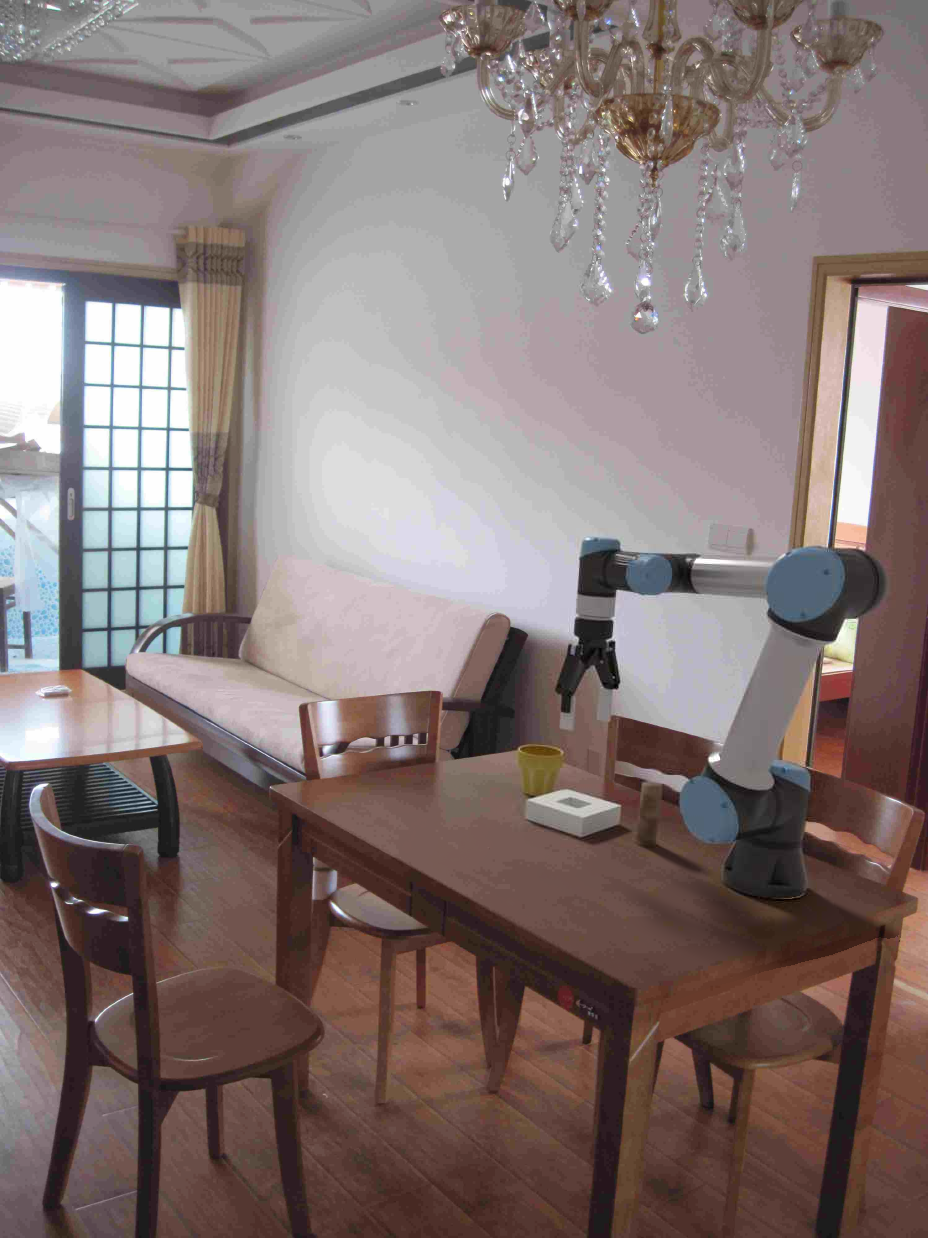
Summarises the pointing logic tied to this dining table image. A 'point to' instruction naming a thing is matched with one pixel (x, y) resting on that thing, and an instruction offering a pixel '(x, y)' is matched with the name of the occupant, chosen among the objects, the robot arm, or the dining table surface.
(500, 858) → the dining table surface
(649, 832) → the peg
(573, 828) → the socket block
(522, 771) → the plant pot
